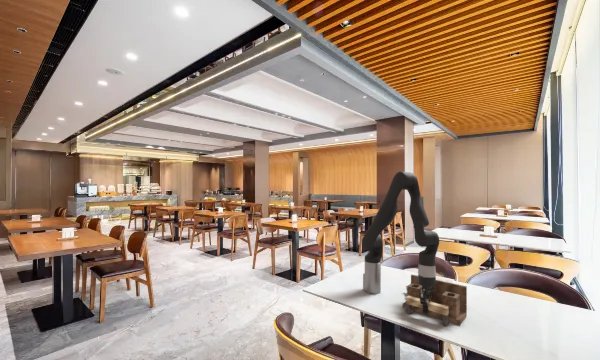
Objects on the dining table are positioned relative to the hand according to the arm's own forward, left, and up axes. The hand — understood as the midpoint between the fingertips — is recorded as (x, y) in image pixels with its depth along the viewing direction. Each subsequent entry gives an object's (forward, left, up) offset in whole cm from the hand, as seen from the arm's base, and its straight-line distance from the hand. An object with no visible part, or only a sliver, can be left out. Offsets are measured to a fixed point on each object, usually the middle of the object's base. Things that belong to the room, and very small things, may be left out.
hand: (426, 311), depth 131 cm
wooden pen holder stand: (0, +10, -3) cm, 11 cm away
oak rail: (0, 0, -3) cm, 3 cm away
